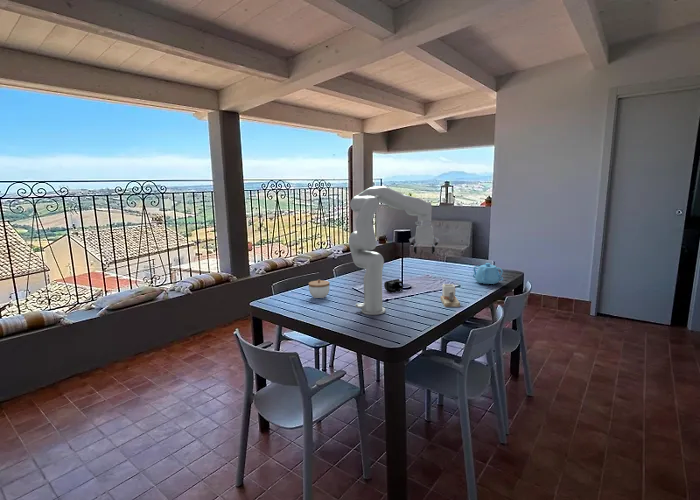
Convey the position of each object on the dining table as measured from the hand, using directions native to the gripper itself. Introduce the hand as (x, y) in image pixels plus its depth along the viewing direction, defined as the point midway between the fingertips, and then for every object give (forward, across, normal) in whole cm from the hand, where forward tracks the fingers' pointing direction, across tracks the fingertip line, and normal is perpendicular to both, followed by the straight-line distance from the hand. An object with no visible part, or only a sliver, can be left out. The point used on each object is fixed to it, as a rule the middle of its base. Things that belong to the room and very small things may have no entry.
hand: (424, 253), depth 211 cm
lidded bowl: (+27, -62, -2) cm, 67 cm away
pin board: (+26, +14, -11) cm, 31 cm away
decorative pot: (+25, +45, +35) cm, 62 cm away
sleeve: (+24, +13, -8) cm, 28 cm away
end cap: (+26, -17, +15) cm, 35 cm away
